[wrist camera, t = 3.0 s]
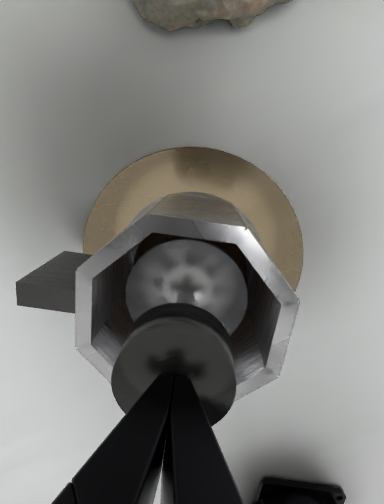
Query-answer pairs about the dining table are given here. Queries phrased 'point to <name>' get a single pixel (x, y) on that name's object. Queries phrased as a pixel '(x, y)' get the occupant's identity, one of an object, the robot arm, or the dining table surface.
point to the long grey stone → (201, 11)
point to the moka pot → (173, 226)
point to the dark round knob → (182, 323)
